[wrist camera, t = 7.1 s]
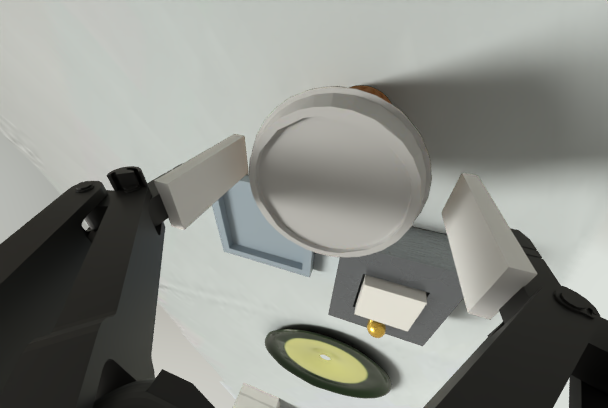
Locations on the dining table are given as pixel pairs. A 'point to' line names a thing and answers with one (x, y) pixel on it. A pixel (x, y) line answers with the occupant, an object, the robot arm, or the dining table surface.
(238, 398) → the pizza boxes
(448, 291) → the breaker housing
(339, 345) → the plate
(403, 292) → the button
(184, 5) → the dining table surface
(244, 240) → the tray
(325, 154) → the disposable coffee cup
